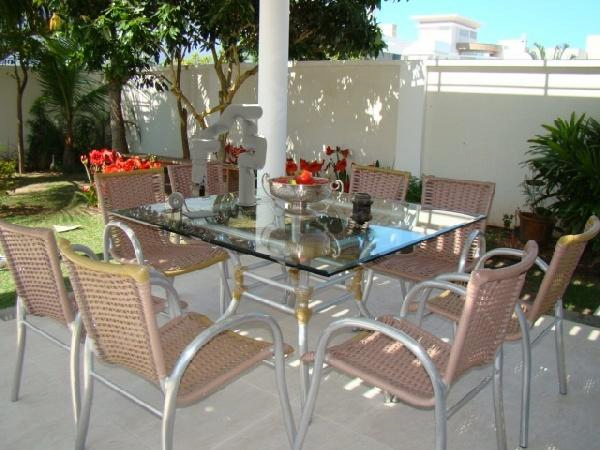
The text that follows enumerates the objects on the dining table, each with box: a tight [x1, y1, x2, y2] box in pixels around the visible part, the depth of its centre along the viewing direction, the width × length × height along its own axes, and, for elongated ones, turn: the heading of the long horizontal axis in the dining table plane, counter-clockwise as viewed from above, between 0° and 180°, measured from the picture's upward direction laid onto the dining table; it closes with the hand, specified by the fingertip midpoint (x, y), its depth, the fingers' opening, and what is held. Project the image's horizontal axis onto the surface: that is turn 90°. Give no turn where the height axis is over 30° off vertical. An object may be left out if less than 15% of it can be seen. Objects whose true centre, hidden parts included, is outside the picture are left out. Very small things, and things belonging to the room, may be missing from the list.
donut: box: [168, 191, 185, 210], centre depth 318 cm, size 10×4×10 cm, turn 67°
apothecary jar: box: [349, 191, 374, 225], centre depth 294 cm, size 12×12×18 cm
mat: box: [180, 209, 220, 220], centre depth 307 cm, size 16×14×1 cm
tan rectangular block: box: [189, 184, 210, 199], centre depth 304 cm, size 4×9×6 cm, turn 128°
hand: (199, 195), depth 305 cm, fingers closed on tan rectangular block, 4 cm apart
